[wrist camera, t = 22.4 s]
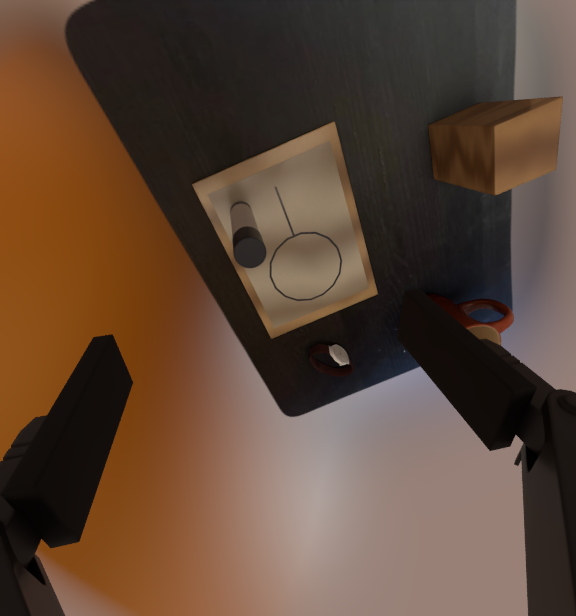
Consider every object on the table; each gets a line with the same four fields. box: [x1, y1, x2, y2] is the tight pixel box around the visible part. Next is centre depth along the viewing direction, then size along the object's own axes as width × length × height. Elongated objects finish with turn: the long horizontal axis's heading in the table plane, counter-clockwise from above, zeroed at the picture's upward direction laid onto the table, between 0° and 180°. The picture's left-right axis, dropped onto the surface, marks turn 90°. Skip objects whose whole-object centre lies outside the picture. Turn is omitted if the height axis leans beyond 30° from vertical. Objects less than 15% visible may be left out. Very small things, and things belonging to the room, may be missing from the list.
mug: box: [426, 294, 514, 346], centre depth 43 cm, size 12×9×10 cm
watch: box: [309, 344, 354, 376], centre depth 47 cm, size 8×5×4 cm, turn 54°
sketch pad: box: [192, 121, 378, 339], centre depth 39 cm, size 22×16×1 cm
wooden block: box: [428, 97, 563, 195], centre depth 32 cm, size 6×6×10 cm
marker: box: [230, 201, 267, 268], centre depth 30 cm, size 2×2×13 cm
